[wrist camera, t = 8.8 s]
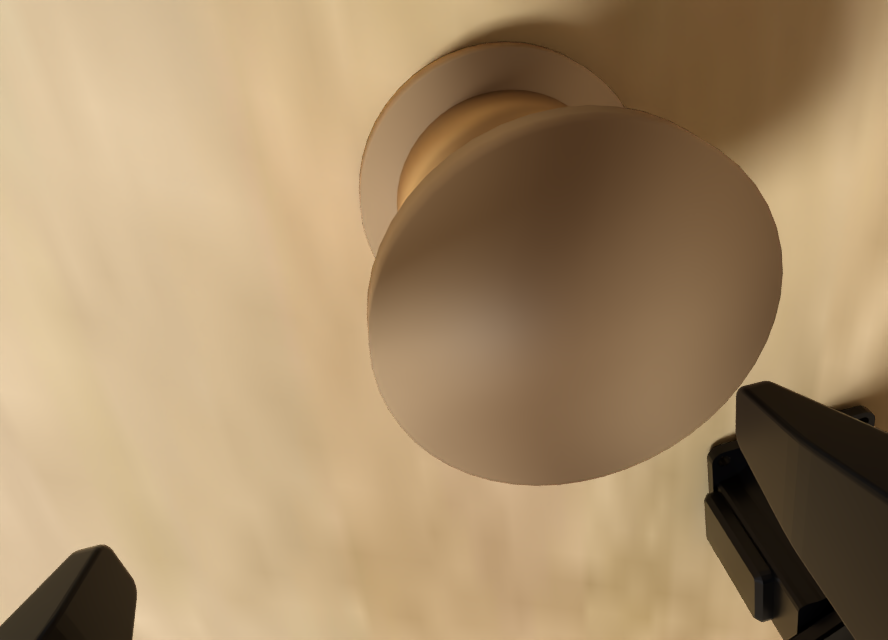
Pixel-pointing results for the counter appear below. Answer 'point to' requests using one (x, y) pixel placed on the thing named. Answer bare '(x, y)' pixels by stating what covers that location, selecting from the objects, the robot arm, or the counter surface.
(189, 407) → the counter surface
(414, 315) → the bobbin
